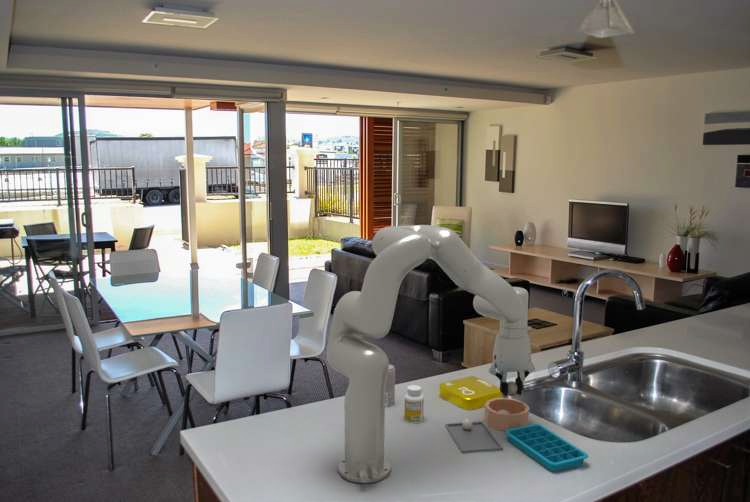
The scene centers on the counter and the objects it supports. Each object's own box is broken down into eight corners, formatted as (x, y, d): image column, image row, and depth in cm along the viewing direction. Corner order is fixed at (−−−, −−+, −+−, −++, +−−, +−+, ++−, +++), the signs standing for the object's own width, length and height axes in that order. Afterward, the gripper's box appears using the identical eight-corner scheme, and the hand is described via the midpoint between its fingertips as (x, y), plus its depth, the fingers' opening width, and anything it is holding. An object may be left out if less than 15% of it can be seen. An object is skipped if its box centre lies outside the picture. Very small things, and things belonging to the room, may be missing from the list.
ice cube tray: (537, 433, 169) (538, 423, 169) (590, 467, 151) (591, 456, 150) (502, 441, 164) (502, 430, 164) (552, 477, 146) (552, 465, 146)
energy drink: (385, 399, 191) (386, 362, 189) (398, 404, 187) (398, 366, 185) (373, 404, 187) (373, 366, 185) (386, 409, 184) (386, 370, 182)
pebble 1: (474, 431, 168) (474, 420, 168) (463, 431, 168) (463, 421, 168) (470, 426, 171) (471, 416, 171) (460, 427, 171) (460, 417, 170)
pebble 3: (519, 395, 174) (520, 383, 173) (507, 396, 173) (507, 384, 173) (514, 390, 177) (515, 379, 177) (502, 391, 177) (503, 379, 176)
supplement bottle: (411, 414, 180) (412, 382, 179) (426, 419, 177) (427, 387, 175) (400, 420, 176) (401, 387, 175) (416, 425, 173) (416, 392, 171)
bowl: (535, 430, 170) (535, 413, 169) (493, 433, 168) (494, 416, 167) (518, 412, 181) (519, 396, 181) (479, 415, 180) (479, 399, 179)
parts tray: (503, 451, 158) (503, 447, 158) (461, 454, 156) (461, 450, 156) (482, 424, 174) (482, 421, 173) (444, 427, 172) (444, 423, 172)
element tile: (505, 403, 189) (505, 388, 189) (467, 413, 182) (467, 398, 181) (473, 387, 202) (473, 373, 201) (436, 396, 194) (436, 382, 194)
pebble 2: (512, 426, 171) (513, 412, 171) (498, 427, 171) (499, 413, 170) (507, 420, 175) (507, 406, 175) (493, 421, 174) (494, 407, 174)
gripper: (535, 326, 177) (533, 386, 180) (480, 329, 175) (478, 390, 178) (547, 333, 170) (544, 396, 173) (489, 337, 167) (487, 400, 170)
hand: (511, 393), depth 175 cm, fingers closed on pebble 3, 3 cm apart
